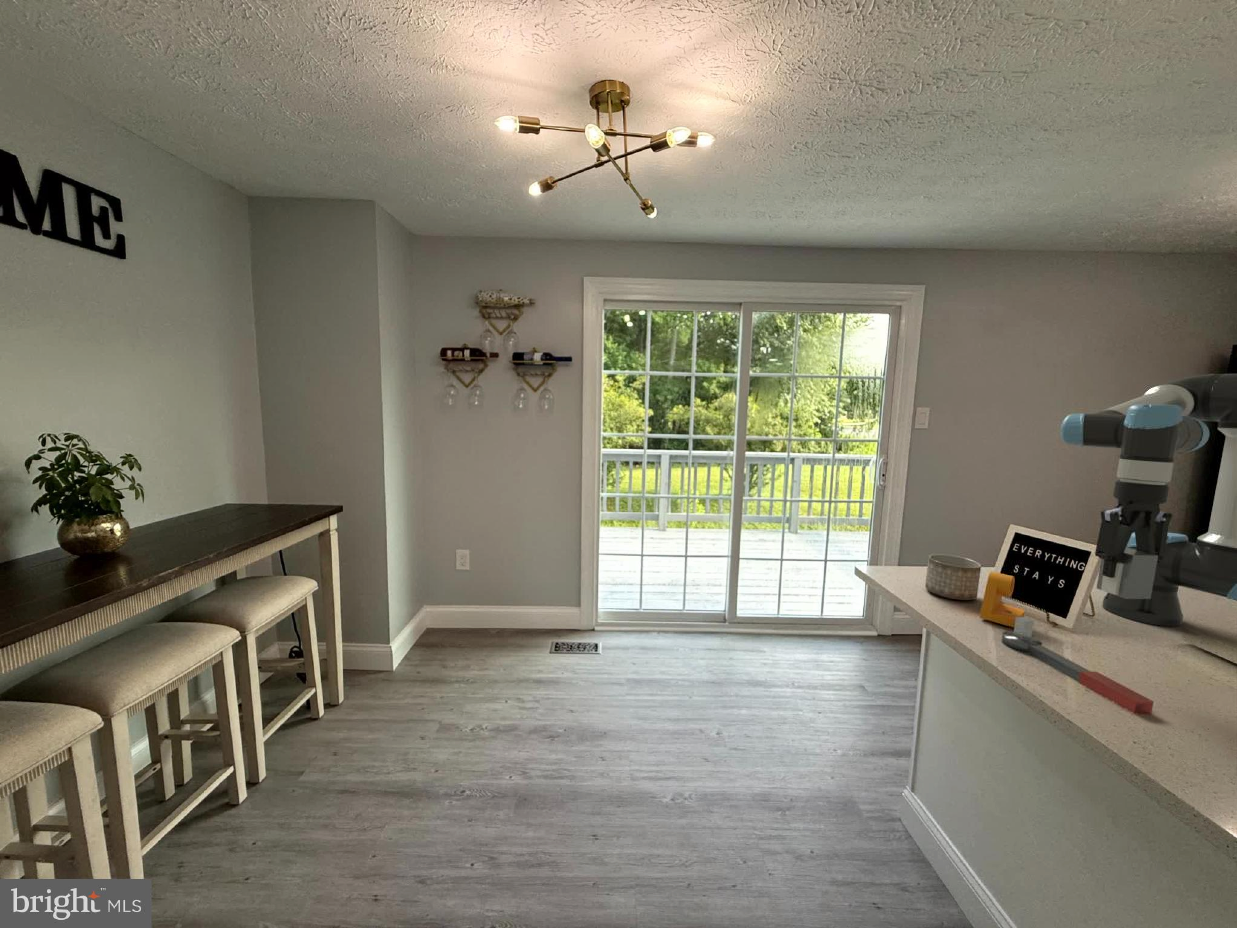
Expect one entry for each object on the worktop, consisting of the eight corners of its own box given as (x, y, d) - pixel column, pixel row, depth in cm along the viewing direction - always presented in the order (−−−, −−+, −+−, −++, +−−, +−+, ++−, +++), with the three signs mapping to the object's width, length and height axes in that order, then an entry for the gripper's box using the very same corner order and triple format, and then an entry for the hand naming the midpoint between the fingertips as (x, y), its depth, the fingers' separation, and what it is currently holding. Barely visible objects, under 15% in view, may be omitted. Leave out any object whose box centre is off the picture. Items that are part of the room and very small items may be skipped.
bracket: (1014, 630, 122) (1021, 584, 120) (979, 620, 127) (985, 575, 126) (1024, 619, 129) (1030, 575, 127) (990, 610, 134) (996, 567, 133)
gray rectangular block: (1120, 588, 105) (1127, 547, 104) (1150, 598, 100) (1158, 555, 99) (1096, 588, 105) (1103, 547, 104) (1125, 598, 99) (1133, 555, 98)
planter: (987, 604, 138) (992, 568, 137) (942, 602, 139) (946, 566, 137) (957, 588, 151) (961, 554, 150) (915, 586, 151) (919, 553, 150)
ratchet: (993, 639, 117) (997, 612, 116) (1021, 639, 117) (1025, 612, 117) (1124, 714, 89) (1130, 679, 88) (1160, 713, 89) (1166, 679, 88)
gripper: (1160, 479, 104) (1142, 586, 107) (1081, 477, 102) (1064, 585, 105) (1206, 485, 97) (1185, 599, 100) (1121, 483, 95) (1102, 599, 98)
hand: (1123, 592), depth 102 cm, fingers closed on gray rectangular block, 6 cm apart
